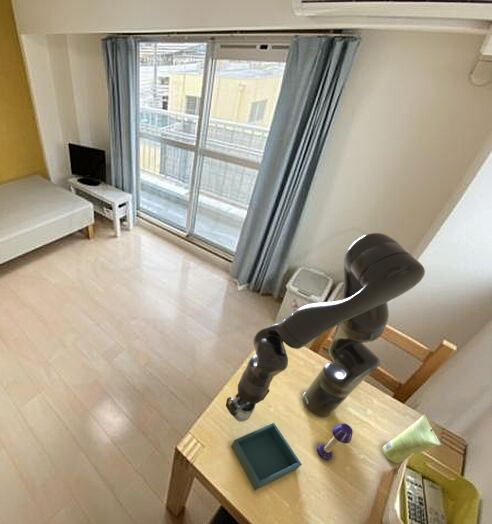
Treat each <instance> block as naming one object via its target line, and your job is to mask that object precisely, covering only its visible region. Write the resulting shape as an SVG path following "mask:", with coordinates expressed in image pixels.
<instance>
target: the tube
mask: <svg viewBox="0 0 492 524" xmlns="http://www.w3.org/2000/svg"><path fill="white" fill-rule="evenodd" d="M440 446H442V443H441V442H440V440H439V439H438V437H437V435H436V433H435V431H434V429H433V427H432V425H431V424H430V422H429V420H428V418H427V417H426V415H425V414H423V415H421V417H420V418H419V419H417V420H416V421H415V422H414V423H413V424H411V425H410V426H409V427H407V428H406V429H405V430H404V431H402V432H401V433H400V434H398V435H397V436H395V437H394V438H393V439H392V440H390V441H388V442H387V443H386V444H384V445H383V447H382V452H383V455H384V456H385V457H386V458H387V459H388V460H389V461H390V462H392V463H396V464H399V463H401V462H403V461H405V460H408V459H409V458H408V457H409V456H410V455H411V454H412V453H415V454H416V455H418V454H421V453H424V452H425V451H428V450H430V449H433V448H437V447H440ZM407 458H408V459H407Z"/></svg>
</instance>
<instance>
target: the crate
mask: <svg viewBox="0 0 492 524" xmlns="http://www.w3.org/2000/svg"><path fill="white" fill-rule="evenodd" d="M230 448H231V449H232V451H233V453H234V455H235V458H236V459H237V460H238V461H237V462H238V463H239V465H240V466H241V468H242V470H243V472H244V473H245V476H246V477H247V479H248V481H249V483H250V485H251V487H252V489H253V491H254V492H255V491H259V490H260V489H262V488H264V487H266V486H268V485H270V484H272V483H274V482H276V481H278V480H280V479H282V478H284V477H286V476H287V475H290V474H291V473H293V472H295V471H297V470H298V469H299V468H300V467H301V466H302V465H303V464H302V462H301V460H299V458H298V455H296V453H295V452H294V450H293V449H292V447H291V446H290V445H289V443H288V442H287V440H286V439H285V437H284V436H283V434H282V433H281V431H280V429H279V428H278V427H277V425H276V424H275V423H274V422H272V423H269V424H268V425H265V426H262V427H260V428H258V429H257V430H254V431H252V432H249V433H247V434H245V435H243V436H241V437H238V438H235V439H234V440H233V442H232V444H231V445H230Z"/></svg>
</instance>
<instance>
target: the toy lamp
mask: <svg viewBox="0 0 492 524" xmlns="http://www.w3.org/2000/svg"><path fill="white" fill-rule="evenodd" d="M353 431H354V430H353V428H352V427H351V426H350V424H348V423H344V422H343V423H338V424H336V425H334V426H332V428H331V433H332V435H333V437H332V438H331V439H330V440H329V441H328V442H327V443H326V444H318V445H317V446H316V453H317V455H318V456H319V457H320V459H322V460H324V461H330V460H331V459H332V458H333V452H332V450H333V449H334V448H335V447H337V445H338V444H339V443H342V444H349V443H350V442H351V441H352V438H353V433H354V432H353Z"/></svg>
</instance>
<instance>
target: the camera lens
mask: <svg viewBox="0 0 492 524" xmlns="http://www.w3.org/2000/svg"><path fill="white" fill-rule="evenodd" d="M240 404H241V403H240ZM235 405H236V404H235ZM241 405H242V404H241ZM255 407H256V405H255V403H249V404H247V405H246V406H245V407H244V408H243V409H239V410H238V412H237V414H236V416H233V415H232V417H233V419H235V420H236V421H238V422H246V421H248V420H249V419H250V418H251V416H252V414H253V412H254V410H255V409H256V408H255ZM236 408H237V405H236Z"/></svg>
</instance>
